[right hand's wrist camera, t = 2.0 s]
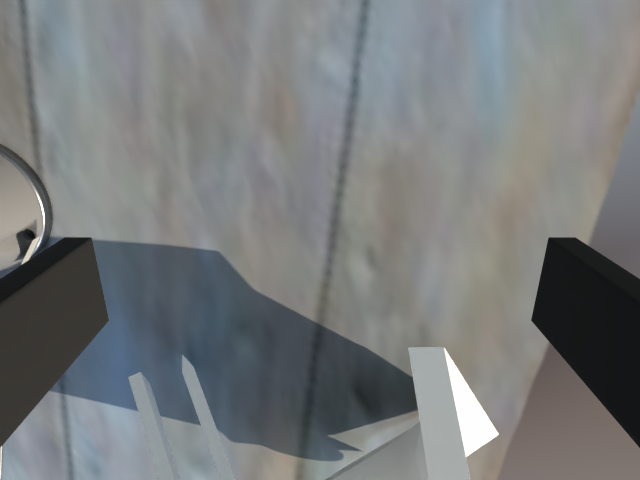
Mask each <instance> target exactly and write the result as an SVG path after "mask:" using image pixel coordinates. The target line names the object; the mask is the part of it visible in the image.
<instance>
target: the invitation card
mask: <svg viewBox="0 0 640 480" xmlns="http://www.w3.org/2000/svg"><path fill="white" fill-rule="evenodd" d="M1 458H2V446H1V447H0V480H1Z"/></svg>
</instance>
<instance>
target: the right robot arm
mask: <svg viewBox="0 0 640 480" xmlns="http://www.w3.org/2000/svg"><path fill="white" fill-rule="evenodd" d="M52 220H53V217H52V207H51V203H50V199H49V196H48V193H47V191H46V189H45V187H44V185H43V183H42V182H41V180H40V178H39V177H38V175H37V174H36V173H35V172H34V170H33V169H32V168H31V167H30V166H29V165H28V164H27V163H26V162H25V161H24V160H23V159H22V158H21V157H19V156H18V155H17V154H16V153H14V152H13V151H11V150H10V149H8V148H7V147H5V146H3V145H1V144H0V271H4V270H8V269H12V268H14V267H17V266H19V265H20V264H21V266H20V267H18V268H17V269H15V270H14V271H12V272H11V273H9V274H8V275H6V276H4V277H3V278H1V279H0V447H1V446H2V445H3V444H4V443H5V442H6V440H7V439H8V438H9V437H10V436H11V434H12V433H13V432H14V431H15V430H16V429H17V427H18V426H19V425H20V424H21V423H22V422H23V420H24V419H25V418H26V417H27V416H28V415H29V413H30V412H31V411H32V410H33V409H34V407H35V406H36V405H37V404H38V403H39V402H40V400H41V399H42V398H43V397H44V396H45V395H46V393H47V392H48V391H49V390H50V389H51V388H52V386H53V385H54V384H55V383H56V382H57V380H58V379H59V378H60V377H61V376H62V375H63V373H64V372H65V371H66V370H67V369H68V368H69V366H70V365H71V364H72V363H73V362H74V361H75V359H76V358H77V357H78V356H79V355H80V353H81V352H82V351H83V350H84V349H85V348H86V346H87V345H88V344H89V343H90V342H91V341H92V339H93V338H94V337H95V336H96V335H97V334H98V332H99V331H100V330H101V329H102V328H103V326H104V325H105V324H106V323H107V322H108V321H109V320H108V315H107V310H106V305H105V301H104V296H103V291H102V286H101V281H100V277H99V272H98V267H97V262H96V258H95V253H94V248H93V243H92V239H91V238H63V239H62V240H60V241H59V242H57V243H55V244H54V245H52V246H51V247H49V248H48V249H46V250H45V251H43V252H42V253H40V254H38V255H37V256H35V257H34V258H32V259H31V260H29V259H30V258H31V257H33V256H34V255H36V254H37V253H38V252H39V251H40V250H41V249H42V248H43V247H44V245H45V244H46V242H47V240H48V238H49V236H50V233H51V228H52ZM28 260H29V261H28ZM26 261H28V262H26ZM25 262H26V263H25ZM23 263H25V264H23ZM22 264H23V265H22ZM531 321H532V322H533V323H534V324H535V325H536V326H537V328H538V329H539V330H540V331H541V332H542V334H543V335H544V336H545V337H546V338H547V339H548V341H549V342H550V343H551V344H552V345H553V346H554V348H555V349H556V350H557V351H558V352H559V353H560V355H561V356H562V357H563V358H564V359H565V361H566V362H567V363H568V364H569V365H570V366H571V368H572V369H573V370H574V371H575V372H576V373H577V375H578V376H579V377H580V378H581V379H582V380H583V382H584V383H585V384H586V385H587V386H588V388H589V389H590V390H591V391H592V392H593V393H594V395H595V396H596V397H597V398H598V399H599V400H600V402H601V403H602V404H603V405H604V406H605V407H606V409H607V410H608V411H609V412H610V413H611V415H612V416H613V417H614V418H615V419H616V420H617V422H618V423H619V424H620V425H621V426H622V427H623V429H624V430H625V431H626V432H627V433H628V434H629V436H630V437H631V438H632V439H633V440H634V441H635V443H636V444H637V445H638V446H639V447H640V279H639V278H637V277H635V276H634V275H632V274H631V273H629V272H628V271H626V270H625V269H623V268H622V267H620V266H619V265H617V264H615V263H614V262H612V261H611V260H609V259H608V258H606V257H605V256H603V255H602V254H600V253H598V252H597V251H595V250H594V249H592V248H591V247H589V246H588V245H586V244H585V243H583V242H581V241H580V240H578V239H577V238H549V239H548V243H547V248H546V253H545V258H544V262H543V267H542V272H541V277H540V281H539V286H538V291H537V296H536V301H535V305H534V310H533V315H532V320H531Z"/></svg>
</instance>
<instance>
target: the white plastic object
mask: <svg viewBox="0 0 640 480" xmlns="http://www.w3.org/2000/svg"><path fill="white" fill-rule="evenodd" d="M408 350H409V356H410V362H411V369H412V375H413V381H414V388H415V394H416V400H417V406H418V413H419V419H420V421H419V422H418V423H417V424H416V425H415V426H413V427H412V428H411V429H409V430H407V431H405V432H404V433H402V434H400V435H399V436H397V437H395V438H393V439H392V440H390V441H388V442H387V443H385V444H383V445H381V446H380V447H378V448H376V449H374V450H373V451H371V452H369V453H368V454H366V455H364V456H363V457H361V458H359V459H358V460H356V461H354V462H353V463H351V464H349V465H348V466H346V467H344V468H343V469H341V470H340V471H338V472H336V473H335V474H333V475H332V476H330V477H329V478H327V479H325V480H471V479H470V474H469V469H468V464H467V459H466V457H467V456H468V455H470V454H471V453H472V452H474V451H475V450H477V449H478V448H480V447H481V446H483V445H484V444H486V443H487V442H489V441H490V440H492V439H493V438H495V437H496V436H497V435H498V432H497V430H496V429H495V427H494V426H493V424H492V423H491V421H490V419H489V418H488V416H487V415H486V413H485V412H484V410H483V408H482V407H481V405H480V404H479V402H478V400H477V399H476V397H475V396H474V394H473V392H472V391H471V389H470V388H469V386H468V385H467V383H466V381H465V380H464V378H463V377H462V375H461V373H460V372H459V370H458V369H457V367H456V366H455V364H454V362H453V361H452V359H451V358H450V356H449V354H448V353H447V351H446V350H445V348H444V347H408ZM182 374H183V376H184V379H185V382H186V385H187V387H188V390H189V393H190V396H191V399H192V401H193V404H194V407H195V410H196V413H197V415H198V418H199V421H200V424H201V427H202V429H203V432H204V435H205V438H206V441H207V443H208V446H209V449H210V452H211V455H212V457H213V460H214V463H215V466H216V468H217V471H218V474H219V477H220V480H236V479H235V477H234V474H233V471H232V469H231V466H230V463H229V461H228V458H227V455H226V453H225V450H224V447H223V444H222V442H221V439H220V436H219V434H218V431H217V428H216V426H215V423H214V420H213V418H212V415H211V412H210V410H209V407H208V404H207V402H206V399H205V396H204V393H203V391H202V388H201V385H200V383H199V380H198V377H197V375H196V372H195V369H194V367H193V366H192V365H191V363H190V362H189V361H188V360H187V359H186V358H185V357H184V356H183V354H182ZM128 379H129V382H130V385H131V389H132V392H133V395H134V399H135V402H136V405H137V409H138V412H139V415H140V419H141V422H142V425H143V429H144V432H145V435H146V439H147V442H148V445H149V449H150V452H151V455H152V459H153V462H154V465H155V469H156V472H157V475H158V479H159V480H181V479H180V476H179V473H178V470H177V466H176V463H175V460H174V457H173V454H172V451H171V448H170V445H169V441H168V438H167V435H166V432H165V429H164V426H163V423H162V420H161V416H160V413H159V410H158V407H157V404H156V401H155V398H154V395H153V392H152V388H151V385H150V383H149V382H148V381H147V379H146V378H145V377H144V376H143V374H142V373H141V372H139V373H136V374H134V375H132V376H129V377H128Z"/></svg>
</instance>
